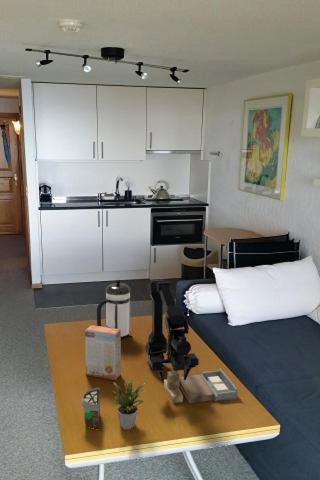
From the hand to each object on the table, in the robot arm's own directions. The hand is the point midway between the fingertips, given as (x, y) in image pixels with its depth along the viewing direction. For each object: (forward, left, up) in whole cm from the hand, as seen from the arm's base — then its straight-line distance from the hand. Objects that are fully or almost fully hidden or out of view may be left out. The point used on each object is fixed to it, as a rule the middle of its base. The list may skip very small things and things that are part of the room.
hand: (173, 381), depth 180 cm
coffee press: (-13, +60, -6) cm, 62 cm away
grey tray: (+19, 0, -5) cm, 20 cm away
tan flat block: (+9, 0, -5) cm, 10 cm away
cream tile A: (+19, -3, -5) cm, 20 cm away
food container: (-34, -12, -6) cm, 36 cm away
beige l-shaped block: (0, 0, -6) cm, 6 cm away
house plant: (-21, -18, -6) cm, 28 cm away
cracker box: (-25, +21, -6) cm, 33 cm away
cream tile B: (+19, +3, -5) cm, 20 cm away
